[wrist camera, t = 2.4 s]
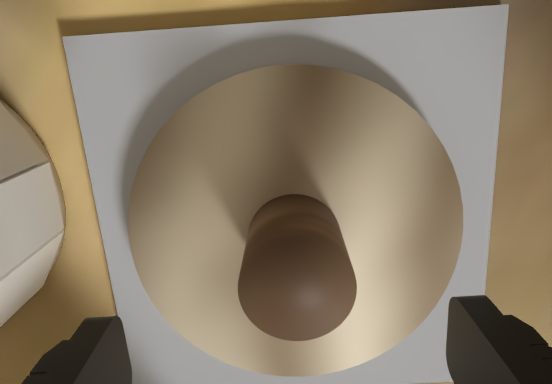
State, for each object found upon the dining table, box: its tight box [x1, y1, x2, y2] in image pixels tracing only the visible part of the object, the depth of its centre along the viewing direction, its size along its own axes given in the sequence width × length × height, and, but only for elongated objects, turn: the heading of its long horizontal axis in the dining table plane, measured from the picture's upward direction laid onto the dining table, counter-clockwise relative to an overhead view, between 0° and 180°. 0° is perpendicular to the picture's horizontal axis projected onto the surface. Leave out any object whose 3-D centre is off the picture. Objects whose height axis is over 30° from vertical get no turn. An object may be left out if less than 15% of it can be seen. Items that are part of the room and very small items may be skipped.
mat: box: [62, 4, 509, 384], centre depth 18 cm, size 16×16×1 cm
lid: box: [128, 64, 463, 377], centre depth 16 cm, size 13×13×5 cm
